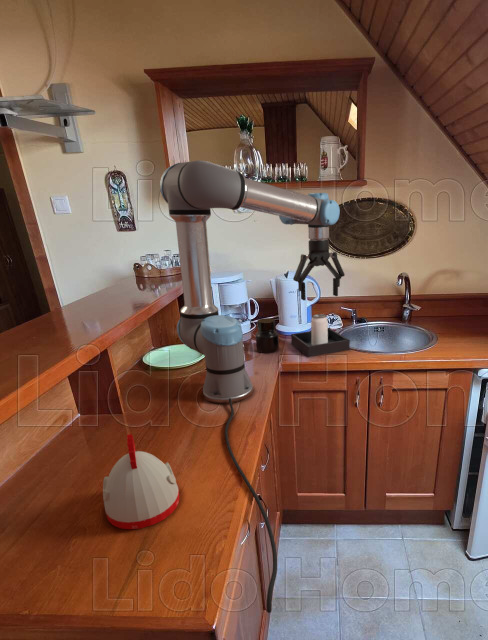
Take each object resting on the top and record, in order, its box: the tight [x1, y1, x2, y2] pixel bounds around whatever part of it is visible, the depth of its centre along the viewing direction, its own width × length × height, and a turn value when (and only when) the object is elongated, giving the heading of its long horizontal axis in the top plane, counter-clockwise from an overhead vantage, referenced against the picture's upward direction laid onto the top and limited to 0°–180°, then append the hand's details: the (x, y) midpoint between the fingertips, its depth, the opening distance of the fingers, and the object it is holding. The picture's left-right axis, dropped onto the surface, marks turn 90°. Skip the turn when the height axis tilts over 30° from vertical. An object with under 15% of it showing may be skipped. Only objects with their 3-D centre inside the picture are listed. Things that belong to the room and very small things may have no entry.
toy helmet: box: [102, 433, 181, 530], centre depth 81 cm, size 14×14×15 cm
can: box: [310, 313, 329, 345], centre depth 166 cm, size 6×6×12 cm
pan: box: [290, 327, 350, 358], centre depth 168 cm, size 18×18×4 cm
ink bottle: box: [255, 317, 280, 354], centre depth 165 cm, size 10×9×12 cm
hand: (319, 297), depth 161 cm, fingers open, 13 cm apart
